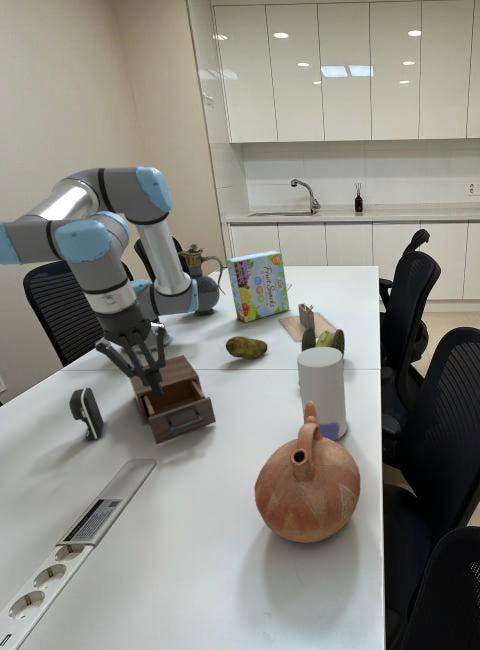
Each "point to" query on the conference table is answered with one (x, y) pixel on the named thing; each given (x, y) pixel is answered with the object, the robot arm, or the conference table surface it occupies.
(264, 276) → the snack box
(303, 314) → the ruin model on sheet
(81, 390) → the battery charger
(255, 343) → the potato
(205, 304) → the pitcher
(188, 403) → the drawer
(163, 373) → the cabinet
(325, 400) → the container
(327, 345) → the cannon
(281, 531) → the jug
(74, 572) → the conference table surface
